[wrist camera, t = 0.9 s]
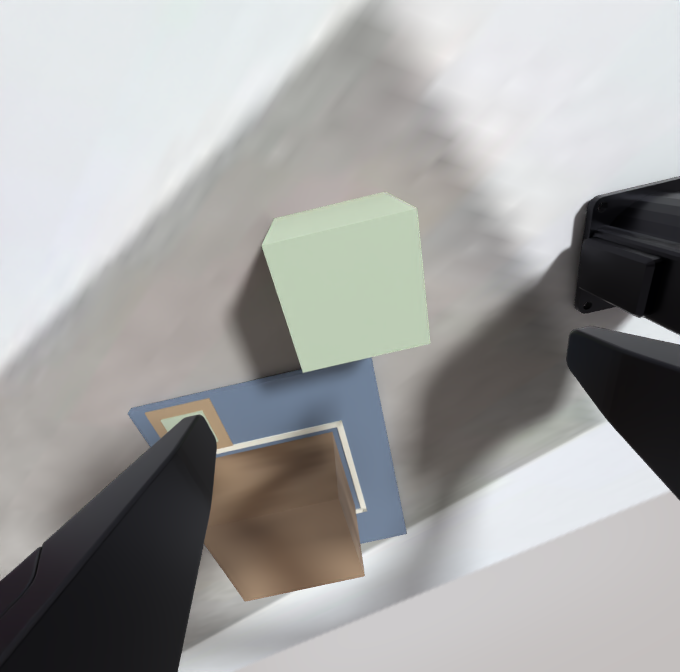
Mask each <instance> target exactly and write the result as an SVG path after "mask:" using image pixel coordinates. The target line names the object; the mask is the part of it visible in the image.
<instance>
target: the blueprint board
mask: <svg viewBox="0 0 680 672" xmlns="http://www.w3.org/2000/svg"><path fill="white" fill-rule="evenodd" d="M198 414H200V415H202V416H203V417H204V418H205V419H206V421H207V423H208V425H209V427H210V429H211V431H212V432H213V434H214V436H215V438H216V442H217V452H216V458H217V457H222V456H226V455H231V454H235V453H240V452H244V451H249V450H253V449H258V448H262V447H266V446H271V445H275V444H280V443H284V442H289V441H293V440H298V439H302V438H307V437H311V436H316V435H320V434H325V433H329V432H333V435H334V439H335V442H336V445H337V449H338V452H339V455H340V458H341V462H342V465H343V468H344V471H345V475H346V478H347V481H348V485H349V488H350V491H351V494H352V498H353V501H354V504H355V509H356V516H357V524H358V531H359V538H360V544H362V543H366V542H371V541H376V540H380V539H385V538H390V537H394V536H399V535H403V534H407V532H406V527H405V522H404V517H403V512H402V507H401V502H400V497H399V492H398V487H397V482H396V477H395V472H394V467H393V462H392V457H391V452H390V447H389V442H388V437H387V432H386V427H385V422H384V417H383V412H382V407H381V403H380V398H379V393H378V388H377V383H376V378H375V373H374V368H373V363H372V358H371V357H370V358H365V359H361V360H357V361H352V362H348V363H344V364H339V365H335V366H330V367H326V368H322V369H317V370H313V371H308V372H304V373H303V371H302V369H300V370H296V371H292V372H287V373H283V374H279V375H274V376H270V377H265V378H261V379H257V380H252V381H248V382H244V383H239V384H235V385H230V386H226V387H222V388H217V389H213V390H209V391H204V392H200V393H196V394H191V395H187V396H182V397H178V398H174V399H169V400H165V401H161V402H156V403H152V404H147V405H143V406H139V407H134V408H131V409H130V411H129V412H128V415H129V416H130V418H131V419H132V421H133V422H134V424H135V425H136V427H137V428H138V430H139V431H140V433H141V434H142V435H143V437H144V438H145V440H146V441H147V443H148V444H149V446H150V447H152V446H153V445H154V444H155V443H156V442H157V441H158V440H159V439H161V438H162V437H163V436H164V435H165V434H166V433H167V432H168V431H169V430H171V429H172V428H173V427H174V426H175V425H176V424H177V423H178V422H180V421H181V420H182V419H183V418H185V417H189V416H193V415H198Z"/></svg>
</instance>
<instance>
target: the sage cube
mask: <svg viewBox="0 0 680 672" xmlns="http://www.w3.org/2000/svg"><path fill="white" fill-rule="evenodd" d="M262 248H263V252H264V255H265V258H266V261H267V264H268V267H269V270H270V273H271V276H272V279H273V282H274V285H275V288H276V292H277V295H278V298H279V301H280V304H281V307H282V310H283V313H284V316H285V319H286V322H287V325H288V328H289V331H290V335H291V338H292V341H293V344H294V347H295V350H296V353H297V356H298V359H299V362H300V365H301V368H302V371H303V373H304V372H308V371H313V370H317V369H322V368H326V367H330V366H335V365H339V364H344V363H348V362H352V361H357V360H361V359H365V358H370V357H374V356H379V355H383V354H387V353H392V352H396V351H400V350H405V349H409V348H414V347H418V346H422V345H427V344H430V334H429V323H428V313H427V303H426V293H425V283H424V273H423V262H422V252H421V242H420V232H419V222H418V212H417V208H415V207H413V206H412V205H410V204H408V203H406V202H404V201H402V200H400V199H398V198H396V197H394V196H393V195H391V194H389V193H387V192H382V193H378V194H374V195H369V196H365V197H361V198H357V199H353V200H349V201H345V202H340V203H336V204H332V205H328V206H324V207H320V208H315V209H311V210H307V211H303V212H299V213H295V214H291V215H286V216H282V217H278V218H274V220H273V222H272V224H271V227H270V229H269V231H268V233H267V235H266V237H265V239H264V241H263V244H262Z"/></svg>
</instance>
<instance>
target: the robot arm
mask: <svg viewBox="0 0 680 672" xmlns="http://www.w3.org/2000/svg"><path fill="white" fill-rule="evenodd" d="M600 203H602V206H601V208H600V209H599V210H598V206H599V205H600ZM585 303H587V304H586V305H585V306H584V304H585ZM574 306H575V309H576V310H577V311H579V312H581V313H583V314H585V313H591V312H595V311H599V310H604V309H608V308H612V307H618V308H620V309H622V310H624V311H626V312H628V313H630V314H632V315H634V316H636V317H639V318H640V317H644V318H646V319H648V320H650V321H652V322H654V323H656V324H658V325H660V326H662V327H664V328H666V329H668V330H670V331H672V332H674V333H676V334H678V335H680V176H679V177H674V178H670V179H666V180H662V181H657V182H653V183H649V184H645V185H641V186H636V187H632V188H628V189H624V190H619V191H615V192H611V193H607V194H603V195H598V196H596V197H594V198H593V199H592V200H591V201H590V202H589V204H588V207H587V213H586V221H585V228H584V236H583V244H582V249H581V257H580V265H579V272H578V280H577V289H576V297H575V304H574ZM566 361H567V365H568V367H569V369H570V371H571V372H572V373H573V375H574V376H575V377H576V379H577V380H578V382H579V383H580V384H581V386H582V387H583V388H584V390H585V391H586V392H587V394H588V395H589V397H590V398H591V399H592V401H593V402H594V403H595V405H596V406H597V407H598V409H599V410H600V411H601V413H602V414H603V415H604V417H605V418H606V419H607V420H608V422H609V423H610V424H611V425H612V426H613V427H614V429H615V430H616V431H617V432H618V433H619V434H620V435H621V436H622V437H623V438H624V440H625V441H626V442H627V443H628V444H629V445H630V446H631V447H632V448H633V450H634V451H635V452H636V453H637V454H638V455H639V456H640V457H641V458H642V459H643V461H644V462H645V463H646V464H647V465H648V466H649V467H650V468H651V469H652V470H653V472H654V473H655V474H656V475H657V476H658V477H659V478H660V479H661V480H662V481H663V483H664V484H665V485H666V486H667V487H668V488H669V489H670V490H671V491H672V492H673V494H674V495H675V496H676V497H677V498H678V499H679V500H680V345H679V344H674V343H669V342H665V341H660V340H655V339H650V338H646V337H641V336H636V335H632V334H627V333H622V332H617V331H613V330H608V329H603V328H599V327H594V326H587V327H583V328H578V329H574V330H573V331H571V333H570V335H569V341H568V349H567V357H566ZM216 452H217V442H216V438H215V436H214V434H213V432H212V431H211V429H210V427H209V425H208V423H207V421H206V419H205V418H204V417H203V416H202V415H200V414H198V415H193V416H189V417H185V418H183V419H182V420H181V421H180V422H178V423H177V424H176V425H175V426H174V427H173V428H172V429H171V430H169V431H168V432H167V433H166V434H165V435H164V436H163V437H162V438H161V439H159V440H158V441H157V442H156V443H155V444H154V445H153V446H152V447H150V448H149V449H148V450H147V451H146V452H145V453H144V454H143V455H142V456H140V457H139V458H138V459H137V460H136V461H135V462H134V463H133V464H131V465H130V466H129V467H128V468H127V469H126V470H125V471H124V472H122V473H121V474H120V475H119V476H118V477H117V478H116V479H115V480H114V481H112V482H111V483H110V484H109V485H108V486H107V487H106V488H105V489H103V490H102V491H101V492H100V493H99V494H98V495H97V496H96V497H94V498H93V499H92V500H91V501H90V502H89V503H88V504H87V505H86V506H84V507H83V508H82V509H81V510H80V511H79V512H78V513H77V514H75V515H74V516H73V517H72V518H71V519H70V520H69V521H68V522H67V523H65V524H64V525H63V526H62V527H61V528H60V529H59V530H58V531H56V532H55V533H54V534H53V535H52V536H51V537H50V538H49V539H47V540H46V541H45V542H44V543H43V545H42V547H39V548H37V549H36V550H35V551H34V552H33V553H32V554H31V555H29V556H28V557H27V558H26V559H25V560H24V561H23V562H22V563H21V564H19V565H18V566H17V567H16V568H15V569H14V570H13V571H11V572H10V573H9V574H8V575H7V576H6V577H5V578H3V579H2V580H1V581H0V672H178V667H179V662H180V657H181V653H182V648H183V643H184V638H185V633H186V628H187V623H188V618H189V613H190V609H191V604H192V599H193V594H194V589H195V584H196V579H197V574H198V569H199V565H200V560H201V555H202V550H203V545H204V540H205V535H206V530H207V525H208V521H209V516H210V510H211V503H212V495H213V484H214V474H215V463H216Z"/></svg>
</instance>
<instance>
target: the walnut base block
mask: <svg viewBox="0 0 680 672" xmlns="http://www.w3.org/2000/svg"><path fill="white" fill-rule="evenodd" d="M204 544H205V546H206V547H207V549H208V550H209V551H210V553H211V554H212V556H213V557H214V559H215V560H216V561H217V563H218V564H219V566H220V567H221V568H222V570H223V571H224V573H225V574H226V575H227V577H228V578H229V580H230V581H231V583H232V584H233V585H234V587H235V588H236V590H237V591H238V592H239V594H240V595H241V597H242V598H243V599H244V601H250V600H255V599H260V598H264V597H269V596H274V595H278V594H283V593H288V592H293V591H297V590H302V589H307V588H311V587H316V586H321V585H325V584H330V583H335V582H340V581H344V580H349V579H354V578H358V577H363V576H365V574H364V567H363V560H362V553H361V545H360V538H359V531H358V524H357V516H356V509H355V504H354V501H353V498H352V494H351V491H350V488H349V485H348V481H347V478H346V475H345V471H344V468H343V465H342V462H341V458H340V455H339V452H338V449H337V445H336V442H335V439H334V435H333V432H329V433H325V434H320V435H316V436H311V437H307V438H302V439H298V440H293V441H289V442H284V443H280V444H275V445H271V446H266V447H262V448H258V449H253V450H249V451H244V452H240V453H235V454H231V455H226V456H222V457H217V458H216V463H215V474H214V484H213V495H212V503H211V510H210V516H209V521H208V525H207V530H206V535H205V540H204Z"/></svg>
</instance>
